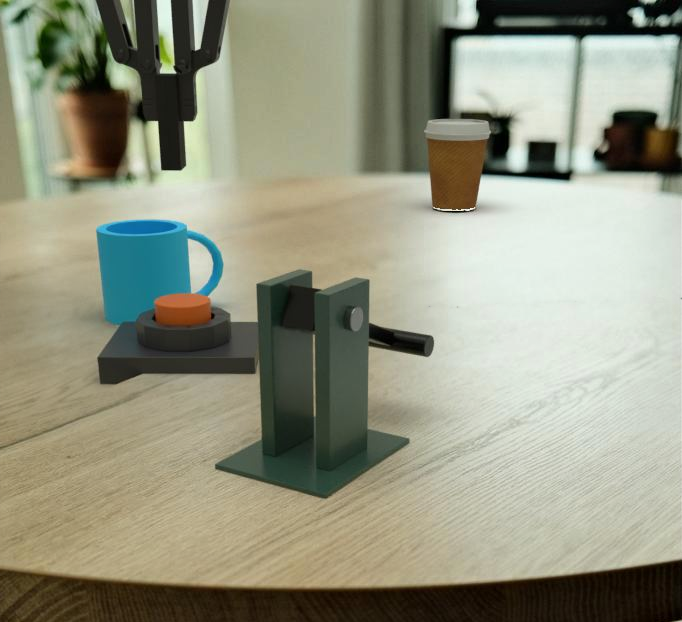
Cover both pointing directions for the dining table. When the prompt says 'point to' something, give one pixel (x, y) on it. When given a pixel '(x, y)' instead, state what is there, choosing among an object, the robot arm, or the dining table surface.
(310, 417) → the green crank press stand
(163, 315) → the button
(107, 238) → the mug
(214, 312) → the control block
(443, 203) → the disposable coffee cup
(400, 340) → the switch lever
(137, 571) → the dining table surface
